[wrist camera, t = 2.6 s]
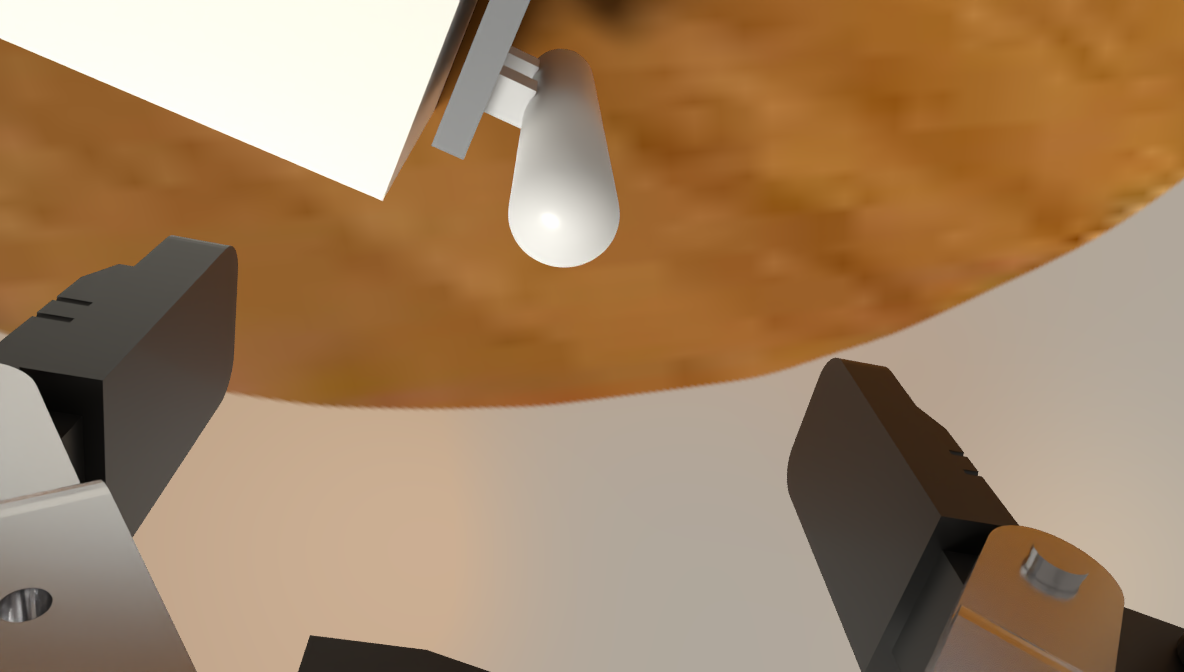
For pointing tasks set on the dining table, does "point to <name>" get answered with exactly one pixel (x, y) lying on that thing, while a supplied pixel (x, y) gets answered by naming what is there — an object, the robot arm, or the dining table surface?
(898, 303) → the dining table surface
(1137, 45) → the dining table surface
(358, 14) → the cabinet housing
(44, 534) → the robot arm
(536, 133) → the side door
